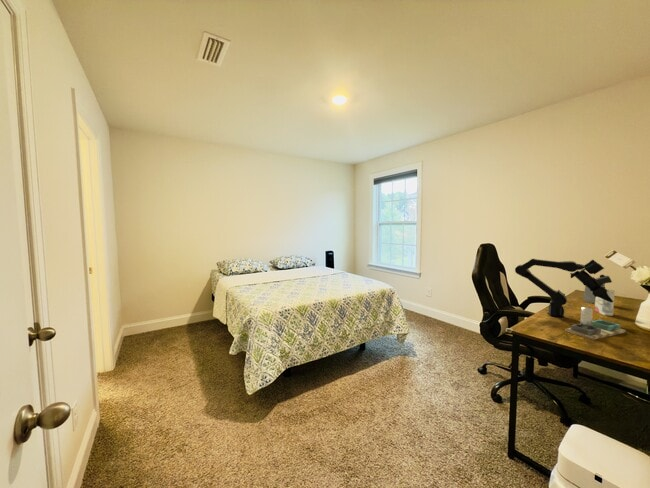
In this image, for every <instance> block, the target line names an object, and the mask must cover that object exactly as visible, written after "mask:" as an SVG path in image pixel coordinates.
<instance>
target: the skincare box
mask: <svg viewBox="0 0 650 488" xmlns="http://www.w3.org/2000/svg"><path fill="white" fill-rule="evenodd" d="M603 285H604V286H606V283H605V284H603ZM604 286H602V287H604ZM595 299H596V297H595V296H594V295H593V294H592V291H590V289H589V288H587V287H586V286H585V285H584V293H583V299H582V300H583V302H585V303H589V304H590V303H591V304H594V305H595Z"/></svg>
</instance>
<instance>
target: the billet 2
mask: <svg viewBox="0 0 650 488" xmlns="http://www.w3.org/2000/svg"><path fill="white" fill-rule="evenodd" d="M607 294H608V296H609V297H610V298H611V299H612V300H613V302H609V301H606V300H604V299H603V304H602V312H605V313H613V314H614V309H613V305H615V290H612V289H607Z"/></svg>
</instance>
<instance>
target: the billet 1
mask: <svg viewBox="0 0 650 488" xmlns="http://www.w3.org/2000/svg"><path fill="white" fill-rule="evenodd" d="M593 312H594V309H593V308H592V307H588V306H581V308H580V319H579V320H580V327H581V328H585V329H588V330H591V329H592V321H593Z"/></svg>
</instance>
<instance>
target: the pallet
mask: <svg viewBox="0 0 650 488" xmlns="http://www.w3.org/2000/svg"><path fill="white" fill-rule="evenodd" d="M564 331H565V332H568V333H570V334H573V335H576V336H580V337H583V338H585V339H589V340H591V341H593V340H597V339H602V338H607V337H611V336H616V335H621V334H625V333H626V329H623V328H621V324H619V323H615V322H612V321H608V320H603V319H596V320H592V329H591V330H588V329H585V328H581V327H580V323H574V324H570V327H567V328H565V330H564Z"/></svg>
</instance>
